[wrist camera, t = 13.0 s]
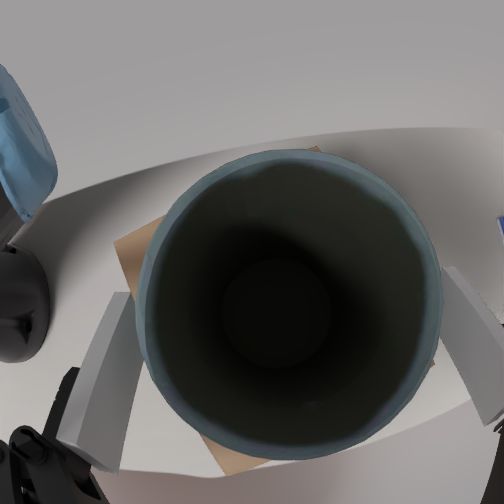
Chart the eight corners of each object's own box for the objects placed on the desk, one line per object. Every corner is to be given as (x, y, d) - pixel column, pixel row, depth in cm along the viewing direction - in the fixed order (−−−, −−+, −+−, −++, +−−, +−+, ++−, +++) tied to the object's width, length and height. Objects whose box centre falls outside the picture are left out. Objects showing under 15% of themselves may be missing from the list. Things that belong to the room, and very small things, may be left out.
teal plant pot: (295, 215, 22) (329, 107, 10) (374, 329, 20) (487, 330, 8) (176, 292, 20) (84, 255, 9) (256, 411, 18) (251, 509, 7)
